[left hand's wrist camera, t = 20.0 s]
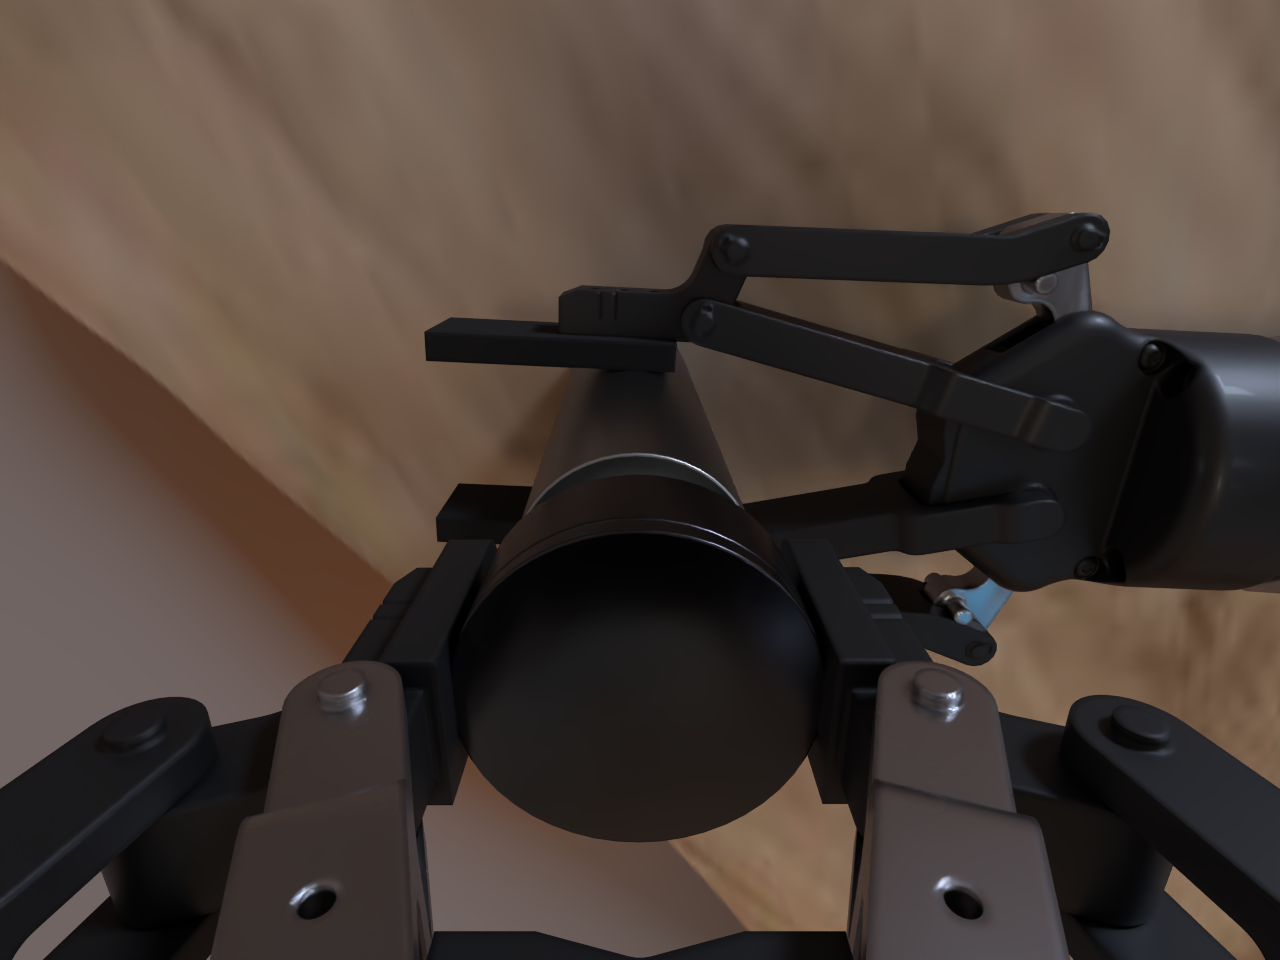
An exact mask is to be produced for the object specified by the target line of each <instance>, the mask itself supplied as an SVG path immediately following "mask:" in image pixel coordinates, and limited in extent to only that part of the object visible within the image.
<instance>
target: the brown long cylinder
mask: <svg viewBox="0 0 1280 960" xmlns="http://www.w3.org/2000/svg"><path fill="white" fill-rule="evenodd" d="M636 474H638V475H656V476H664V477H669V478H675V479H680V480H684V481H687V482H690V483H694V484H697V485H700V486H703V487H705V488H707V489H709V490H712V491H714V492H716V493H718V494H720V495H722V496H724V497H726V498H727V499H729V500H730V501H732V502H734V503H735V504H737V505H738V506H740V507H741V508H742V509H744V507H743V505H742V502H741V500H740V497H739V495H738V492H737V490H736V487H735V485H734V483H733V480H732V478H731V475H730V473H729V470H728V468H727V465H726V463H725V460H724V458H723V456H722V453H721V451H720V448H719V446H718V443H717V441H716V438H715V436H714V433H713V431H712V429H711V426H710V424H709V421H708V419H707V416H706V414H705V411H704V409H703V406H702V404H701V402H700V399H699V397H698V394H697V392H696V389H695V387H694V384H693V382H692V379H691V377H690V374H689V372H688V370H687V367H686V365H685V362H684V360H683V358H682V356H681V355H680V353H679V352H678V350H677V349H676V364H675V373H674V372H653V371H634V370H611V369H589V368H573V370H572V372H571V375H570V378H569V381H568V384H567V387H566V390H565V393H564V396H563V399H562V402H561V405H560V408H559V411H558V414H557V417H556V419H555V422H554V425H553V428H552V431H551V434H550V437H549V440H548V443H547V446H546V449H545V452H544V455H543V458H542V461H541V464H540V467H539V469H538V472H537V475H536V478H535V481H534V484H533V487H532V490H531V493H530V496H529V499H528V502H527V505H526V508H525V511H524V514H523V516H522V518H523V517H524V516H525V515H527V514H528V513H529V512H530V511H531V510H532V509H534V508H535V507H536V506H538V505H539V504H541V503H543V502H544V501H546V500H547V499H549V498H550V497H552V496H554V495H556V494H558V493H560V492H562V491H564V490H566V489H569V488H571V487H573V486H576V485H579V484H582V483H586V482H589V481H592V480H596V479H601V478H607V477H612V476H621V475H636Z"/></svg>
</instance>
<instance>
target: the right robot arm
mask: <svg viewBox="0 0 1280 960" xmlns="http://www.w3.org/2000/svg"><path fill="white" fill-rule="evenodd" d="M1109 234H1110V229H1109V226H1108V223H1107V221H1106V220H1105V219H1104V218H1103V217H1102V216H1101V215H1098V214H1095V213H1037V214H1030V215H1027V216H1024V217H1021V218H1018V219H1015V220H1012V221H1009V222H1006V223H1002V224H999V225H996V226H993V227H990V228H987V229H984V230H981V231H978V232H975V233H972V234H962V233H936V232H911V231H886V230H860V229H835V228H809V227H784V226H758V225H733V224H725V225H719V226H717V227H715V228H714V229H712V230H711V231H710V232H709V233H708V235H707V236H706V238H705V242H704V246H703V249H702V251H701V254H700V256H699V258H698V261H697V263H696V265H695V268H694V270H693V272H692V274H691V276H690V277H689V279H688V280H687V281H686V282H685V283H683V284H682V285H680V286H679V287H676V288H673V289H645V288H625V287H602V286H585V285H582V286H579V287H576V288H573V289H571V290H568V291H565V292H563V293H562V294H561V295H560V297H559V323H555V322H534V321H513V320H493V319H472V318H449V319H447V320H445V321H443V322H442V323H440V324H438V325H436V326H434V327H432V328H430V329H429V330H427V331H425V332H424V334H425V350H426V361H440V362H462V363H483V364H504V365H526V366H547V367H568V368H589V369H611V370H634V371H653V372H674V373H675V364H676V349H677V343H676V341H677V342H692V343H694V344H696V345H698V346H702V347H705V348H709V349H712V350H716V351H719V352H723V353H726V354H730V355H733V356H737V357H740V358H744V359H747V360H751V361H754V362H758V363H761V364H765V365H768V366H771V367H775V368H778V369H782V370H785V371H789V372H792V373H796V374H799V375H803V376H806V377H810V378H813V379H817V380H820V381H824V382H827V383H831V384H834V385H838V386H841V387H845V388H848V389H852V390H855V391H859V392H862V393H866V394H869V395H873V396H876V397H880V398H883V399H887V400H890V401H894V402H897V403H901V404H904V405H908V406H911V407H914V408H917V412H916V421H917V434H918V440H917V443H916V445H915V447H914V449H913V451H912V453H911V455H910V458H909V460H908V462H907V464H906V469H905V470H904V471H898V472H892V473H887V474H881V475H877V476H874V477H872V478H871V479H870V480H869V482H867V483H864V484H859V485H853V486H847V487H841V488H835V489H829V490H823V491H818V492H812V493H806V494H800V495H794V496H788V497H782V498H776V499H770V500H764V501H758V502H752V503H746V504H742V505H743V507H744V510H745V511H746V512H747V513H748V514H749V515H751V516H752V517H753V518H754V519H755V520H756V521H757V522H758V523H759V524H760V525H761V526H762V527H763V528H764V529H765V530H766V532H767V533H768V534H769V535H770V536H771V538H772V539H773V541H774V542H775V544H776V545H777V547H778V548H779V550H780V545H781V542H782V540H783V539H826V540H828V542H829V543H830V545H831V547H832V548H833V550H834V552H835V554H836V555H837V557H838V559H845V558H851V557H857V556H864V555H870V554H876V553H882V552H888V551H899V552H902V553H905V554H908V555H924V554H931V553H937V552H943V551H949V550H956V551H957V552H958V553H959V554H961V555H962V556H963V557H964V558H965V559H967V560H968V561H969V562H970V563H972V564H973V565H974V567H973V568H972V569H971V570H970V571H969V572H967V573H965V574H963V575H959V576H951V575H940V574H938V573H931V574H929V575H927V577H926V578H925V580H924V582H921V581H918V580H915V579H912V578H907V577H903V576H897V575H887V574H870V575H871V576H873V577H874V578H875V579H877V580H878V581H880V582H881V583H882V584H883V586H884V587H885V589H886V590H887V592H888V594H889V595H890V597H891V598H892V600H893V604H896V606H897V607H898V609H899V610H900V612H901V613H902V615H903V616H902V617H903V619H905V620H906V621H907V623H908V624H909V626H910V627H911V629H912V630H913V632H914V633H915V635H916V636H917V638H918V639H919V641H920V643H921V644H922V646H923V647H924V648H925V649H927V650H930V651H932V652H935V653H938V654H940V655H943V656H945V657H948V658H950V659H953V660H956V661H958V662H961V663H963V664H966V665H970V666H978V665H982V664H984V663H986V662H988V661H989V660H990V659H991V658H992V657H993V656H994V655H995V652H996V650H997V644H996V642H995V640H994V638H993V637H992V636H991V635H990V633H989V632H988V631H987V628H988V627H989V625H990V624H991V623H992V621H993V620H994V618H995V617H996V616H997V614H998V613H999V611H1000V610H1001V608H1002V607H1003V606H1004V604H1005V603H1006V601H1007V600H1008V599H1009V597H1010V596H1011V594H1012V593H1013V592H1014V591H1016V592H1027V591H1033V590H1037V589H1039V588H1042V587H1044V586H1047V585H1049V584H1052V583H1055V582H1059V581H1063V580H1069V579H1078V580H1085V581H1091V582H1097V583H1102V584H1109V585H1116V586H1126V587H1149V588H1174V589H1198V590H1238V589H1242V590H1245V591H1254V592H1267V593H1280V336H1276V337H1271V338H1267V337H1263V336H1259V335H1251V334H1237V333H1216V332H1195V331H1175V330H1154V329H1133V328H1126V327H1124V326H1122V325H1120V324H1119V323H1118V322H1116V321H1115V320H1114V319H1113V318H1111V317H1110V316H1108V315H1106V314H1104V313H1101V312H1097V311H1092V301H1091V290H1090V279H1089V268H1088V262H1090V261H1092V260H1093V259H1095V258H1097V257H1098V256H1099V255H1100V254H1101V253H1102V252H1103V251H1104V249H1105V247H1106V245H1107V243H1108V241H1109ZM747 276H748V277H774V278H801V279H827V280H853V281H879V282H905V283H932V284H958V285H993V287H994V291H995V292H996V293H997V295H998V296H1000V297H1001V298H1002V299H1006V300H1010V301H1014V302H1019V303H1023V304H1032V305H1033V307H1034V308H1035V310H1036V314H1037V315H1036V316H1034V317H1033V318H1031V319H1029V320H1027V321H1026V322H1024V323H1022V324H1021V325H1019V326H1017V327H1016V328H1014V329H1012V330H1011V331H1009V332H1007V333H1005V334H1004V335H1002V336H1000V337H999V338H997V339H995V340H994V341H992V342H990V343H988V344H987V345H985V346H983V347H982V348H980V349H978V350H977V351H975V352H973V353H972V354H970V355H968V356H966V357H965V358H963V359H961V360H960V361H958V362H956V363H951V362H948V361H945V360H941V359H938V358H934V357H931V356H928V355H924V354H921V353H918V352H914V351H911V350H907V349H901V348H897V347H893V346H890V345H886V344H883V343H880V342H876V341H873V340H869V339H866V338H863V337H859V336H856V335H852V334H849V333H846V332H842V331H839V330H836V329H832V328H829V327H825V326H822V325H819V324H815V323H812V322H808V321H805V320H802V319H798V318H795V317H791V316H788V315H785V314H781V313H778V312H775V311H771V310H768V309H764V308H761V307H758V306H754V305H751V304H747V303H744V302H741V301H737V300H736V299H737V297H738V295H739V292H740V290H741V288H742V286H743V284H744V281H745V279H746V277H747ZM531 490H532V487H530V486H506V485H483V484H458V485H457V487H456V488H455V490H454V491H453V493H452V494H451V496H450V497H449V499H448V500H447V502H446V503H445V505H444V506H443V508H442V509H441V511H440V512H439V514H438V515H437V517H436V527H437V542H448V541H449V540H494V542H495V544H501V543H502V541H503V539H504V538H505V536H506V535H507V534H508V533H509V532H510V531H511V530H512V528H513V527H514V526H515V525H516V524H517V523H518V522H519V521H520V520H521V519H522V516H523V514H524V511H525V508H526V505H527V502H528V499H529V496H530V493H531Z"/></svg>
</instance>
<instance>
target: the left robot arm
mask: <svg viewBox="0 0 1280 960" xmlns="http://www.w3.org/2000/svg"><path fill="white" fill-rule="evenodd" d="M496 550H497V548H496V544H495V542H494V540H449V541H448V542H447V544H446V546H445V547H444V549H443V551H442V553H441V554H440V556H439V558H438V559H437V561H436V563H435V564H434V566H433V568H416V569H415V570H413V571H412V572H410V573H409V574H407V575H406V576H404V577H403V578H401V579H400V580H399V581H397V582H396V583H394V585H393V586H392V588H391V589H390V591H389V592H388V594H387V595H386V597H385V598H384V600H383V605H380V606H379V608H378V609H377V611H376V612H375V614H374V615H373V620H370V621H369V623H368V624H367V626H366V627H365V629H364V630H363V632H362V633H361V635H360V636H359V638H358V639H357V641H356V642H355V644H354V645H353V647H352V648H351V650H350V651H349V653H348V654H347V656H346V657H345V659H344V660H343V662H342V663H341V664H337V665H334V666H330V667H327V668H325V669H323V670H320V671H318V672H316V673H314V674H312V675H310V676H308V677H307V678H305V679H304V680H303V681H301V682H300V683H299V684H297V685H296V686H295V687H294V688H293V689H292V690H291V691H290V693H289V694H288V695H287V697H286V699H285V701H284V704H283V707H282V711H279V712H277V713H273V714H270V715H266V716H262V717H258V718H253V719H248V720H243V721H238V722H234V723H229V724H224V725H220V726H214V727H212V726H211V722H210V719H209V715H208V712H207V709H206V707H205V706H204V705H203V704H202V703H200V702H199V701H197V700H194V699H191V698H185V697H166V698H158V699H153V700H148V701H145V702H141V703H137V704H134V705H131V706H129V707H126V708H123V709H121V710H119V711H117V712H114V713H112V714H110V715H108V716H106V717H105V718H103V719H101V720H99V721H98V722H96V723H95V724H93V725H91V726H90V727H88V728H87V729H86V730H84V731H83V732H81V733H80V734H78V735H77V736H76V737H74V738H73V739H71V740H70V741H68V742H67V743H65V744H64V745H63V746H61V747H60V748H58V749H57V750H55V751H54V752H53V753H51V754H50V755H48V756H47V757H45V758H44V759H43V760H41V761H40V762H38V763H37V764H35V765H34V766H33V767H31V768H30V769H28V770H27V771H25V772H24V773H22V774H21V775H20V776H18V777H17V778H15V779H14V780H12V781H11V782H10V783H8V784H7V785H5V786H4V787H2V788H1V789H0V960H12V959H13V957H14V956H15V954H16V952H17V951H18V949H19V948H20V947H21V945H22V944H23V943H24V942H25V940H26V939H27V938H28V937H29V936H30V935H31V934H32V933H33V932H34V931H35V930H36V929H37V928H38V927H39V926H41V925H42V924H43V923H44V922H45V921H46V920H47V919H48V918H49V917H51V916H52V915H53V914H54V913H55V912H56V911H57V910H58V909H59V908H60V907H62V906H63V905H64V904H65V903H66V902H67V901H68V900H69V899H70V898H71V897H73V896H74V895H75V894H76V893H77V892H78V891H79V890H80V889H81V888H82V887H84V886H85V885H86V884H87V883H88V882H89V881H90V880H91V879H92V878H93V877H95V876H96V875H97V874H98V873H99V872H100V871H101V872H102V874H103V877H104V880H105V882H106V885H107V888H108V890H109V893H110V896H109V897H108V898H107V899H106V900H105V901H104V902H103V903H102V904H101V905H100V906H99V907H98V908H97V909H96V910H95V911H94V912H93V913H91V914H90V915H89V916H88V917H87V918H86V919H85V920H84V921H83V922H82V923H81V924H80V925H79V926H78V927H77V928H76V929H75V930H74V931H73V932H72V933H70V934H69V935H68V936H67V937H66V938H65V939H64V940H63V941H62V942H61V943H60V944H59V945H58V946H57V947H56V948H55V949H54V950H53V951H52V952H51V953H49V954H48V955H47V956H46V957H45V958H44V959H43V960H206V959H207V958H208V957H209V956H210V955H211V957H210V960H1070V957H1069V955H1070V956H1071V957H1072V958H1073V959H1074V960H1237V959H1236V958H1235V957H1234V956H1233V955H1232V954H1230V953H1229V952H1228V951H1227V950H1226V949H1225V948H1224V947H1223V946H1222V945H1221V944H1220V943H1219V942H1218V941H1217V940H1216V939H1215V938H1214V937H1213V936H1212V935H1211V934H1210V933H1208V932H1207V931H1206V930H1205V929H1204V928H1203V927H1202V926H1201V925H1200V924H1199V923H1198V922H1197V921H1196V920H1195V919H1194V918H1193V917H1192V916H1191V915H1190V914H1189V913H1187V912H1186V911H1185V910H1184V909H1183V908H1182V907H1181V906H1180V905H1179V904H1178V903H1177V902H1176V901H1175V900H1174V899H1173V898H1172V897H1171V896H1170V895H1169V894H1168V893H1166V892H1165V891H1164V889H1165V886H1166V883H1167V880H1168V878H1169V875H1170V872H1171V870H1172V867H1173V866H1174V867H1175V868H1177V869H1178V870H1179V871H1180V872H1181V873H1182V874H1183V875H1184V876H1185V877H1186V878H1188V879H1189V880H1190V881H1191V882H1192V883H1193V884H1194V885H1195V886H1196V887H1197V888H1199V889H1200V890H1201V891H1202V892H1203V893H1204V894H1205V895H1206V896H1207V897H1208V898H1210V899H1211V900H1212V901H1213V902H1214V903H1215V904H1216V905H1217V906H1218V907H1220V908H1221V909H1222V910H1223V911H1224V912H1225V913H1226V914H1227V915H1228V916H1229V917H1231V918H1232V919H1233V920H1234V921H1235V922H1236V923H1237V924H1238V925H1239V926H1240V927H1241V928H1242V929H1244V930H1245V931H1246V932H1247V933H1248V935H1249V936H1250V937H1251V938H1252V939H1253V941H1254V942H1255V943H1256V945H1257V946H1258V948H1259V949H1260V951H1261V952H1262V954H1263V956H1264V958H1265V960H1280V789H1279V788H1278V787H1276V786H1275V785H1273V784H1272V783H1270V782H1269V781H1268V780H1266V779H1265V778H1263V777H1262V776H1260V775H1259V774H1258V773H1256V772H1255V771H1253V770H1252V769H1250V768H1249V767H1248V766H1246V765H1245V764H1243V763H1242V762H1240V761H1239V760H1237V759H1236V758H1235V757H1233V756H1232V755H1230V754H1229V753H1227V752H1226V751H1225V750H1223V749H1222V748H1220V747H1219V746H1217V745H1216V744H1215V743H1213V742H1212V741H1210V740H1209V739H1207V738H1206V737H1204V736H1203V735H1202V734H1200V733H1199V732H1197V731H1196V730H1194V729H1193V728H1192V727H1190V726H1189V725H1187V724H1186V723H1184V722H1183V721H1181V720H1179V719H1178V718H1176V717H1175V716H1173V715H1171V714H1169V713H1167V712H1165V711H1163V710H1161V709H1158V708H1156V707H1154V706H1151V705H1149V704H1146V703H1143V702H1140V701H1136V700H1133V699H1129V698H1124V697H1119V696H1111V695H1093V696H1087V697H1083V698H1081V699H1079V700H1077V701H1075V703H1074V704H1073V705H1072V706H1071V708H1070V711H1069V714H1068V718H1067V722H1066V725H1065V726H1061V725H1056V724H1051V723H1046V722H1041V721H1037V720H1032V719H1027V718H1022V717H1017V716H1013V715H1009V714H1005V713H1001V712H998V707H997V704H996V701H995V699H994V697H993V695H992V694H991V693H990V691H989V690H988V689H987V688H986V687H985V686H984V685H983V684H981V683H980V682H979V681H977V680H976V679H975V678H973V677H972V676H970V675H968V674H966V673H964V672H962V671H960V670H958V669H955V668H953V667H950V666H946V665H943V664H939V663H935V662H933V661H932V659H931V658H930V656H929V655H928V653H927V652H926V650H925V649H924V647H923V646H922V644H921V643H920V641H919V639H918V638H917V636H916V635H915V633H914V632H913V630H912V629H911V627H910V626H909V624H908V623H907V621H906V620H905V619H903V617H902V616H903V615H902V613H901V612H900V610H899V609H898V607H897V606H896V604H893V600H892V598H891V597H890V595H889V594H888V592H887V590H886V589H885V587H884V586H883V584H882V583H881V582H880V581H878V580H877V579H875V578H874V577H873V576H871V575H870V574H868V573H867V572H865V571H864V570H862V569H861V568H859V567H843V566H842V564H841V562H840V561H839V559H838V557H837V555H836V554H835V552H834V550H833V548H832V547H831V545H830V543H829V542H828V540H826V539H783V540H782V542H781V545H780V551H781V554H782V556H783V558H784V560H785V562H786V564H787V566H788V568H789V571H790V573H791V575H792V578H793V580H794V582H795V585H796V587H797V589H798V592H799V594H800V597H801V599H802V601H803V604H804V606H805V608H806V611H807V613H808V615H809V618H810V620H811V623H812V625H813V627H814V630H815V632H816V634H817V637H818V640H819V643H820V646H821V650H822V653H823V656H824V662H825V672H824V683H823V691H822V700H821V709H820V718H819V726H818V733H817V736H816V739H815V741H814V743H813V745H812V747H811V749H810V750H809V752H808V754H807V755H808V758H809V762H810V765H811V768H812V771H813V775H814V778H815V781H816V784H817V788H818V791H819V794H820V797H821V801H822V804H848V805H849V808H850V811H851V814H852V817H853V819H854V822H855V825H856V834H855V841H854V850H853V862H852V874H851V886H850V897H849V909H848V921H847V933H846V931H744V932H740V933H737V934H733V935H729V936H725V937H722V938H718V939H714V940H711V941H707V942H703V943H700V944H696V945H692V946H689V947H685V948H681V949H677V950H673V951H670V952H666V953H662V954H659V955H655V956H651V957H645V958H634V957H629V956H625V955H621V954H618V953H614V952H610V951H607V950H603V949H599V948H595V947H592V946H588V945H584V944H580V943H577V942H573V941H569V940H565V939H562V938H558V937H554V936H551V935H547V934H543V933H540V932H536V931H435V932H434V933H433V921H432V909H431V897H430V886H429V874H428V862H427V850H426V841H425V834H424V827H423V820H422V817H423V815H424V812H425V809H426V806H427V805H453V803H454V799H455V796H456V793H457V790H458V787H459V784H460V780H461V777H462V774H463V771H464V768H465V765H466V761H467V758H468V753H467V751H466V749H465V747H464V745H463V744H462V742H461V739H460V737H459V734H458V729H457V722H456V713H455V704H454V696H453V687H452V678H451V659H452V656H453V652H454V648H455V645H456V641H457V638H458V636H459V634H460V631H461V629H462V627H463V625H464V622H465V620H466V617H467V615H468V613H469V611H470V608H471V606H472V604H473V601H474V599H475V597H476V594H477V592H478V590H479V587H480V585H481V583H482V580H483V578H484V576H485V573H486V571H487V569H488V567H489V564H490V562H491V560H492V558H493V556H494V554H495V552H496Z"/></svg>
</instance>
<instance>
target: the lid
mask: <svg viewBox="0 0 1280 960" xmlns="http://www.w3.org/2000/svg"><path fill="white" fill-rule="evenodd" d="M824 672H825V662H824V656H823V653H822V650H821V646H820V643H819V640H818V637H817V634H816V632H815V630H814V627H813V625H812V623H811V620H810V618H809V615H808V613H807V611H806V608H805V606H804V604H803V601H802V599H801V597H800V594H799V592H798V589H797V587H796V585H795V582H794V580H793V578H792V575H791V573H790V571H789V568H788V566H787V564H786V562H785V560H784V558H783V556H782V554H781V551H780V550H779V548H778V547H777V545H776V544H775V542H774V541H773V539H772V538H771V536H770V535H769V534H768V533H767V532H766V530H765V529H764V528H763V527H762V526H761V525H760V524H759V523H758V522H757V521H756V520H755V519H754V518H753V517H752V516H751V515H749V514H748V513H747V512H746V511H745V510H744V509H742V508H741V507H740V506H738V505H737V504H735V503H734V502H732V501H730V500H729V499H727V498H726V497H724V496H722V495H720V494H718V493H716V492H714V491H712V490H709V489H707V488H705V487H703V486H700V485H697V484H694V483H690V482H687V481H684V480H680V479H675V478H669V477H664V476H656V475H638V474H636V475H621V476H612V477H607V478H601V479H596V480H592V481H589V482H586V483H582V484H579V485H576V486H573V487H571V488H569V489H566V490H564V491H562V492H560V493H558V494H556V495H554V496H552V497H550V498H549V499H547V500H546V501H544V502H543V503H541V504H539V505H538V506H536V507H535V508H534V509H532V510H531V511H530V512H529V513H528V514H527V515H525V516H524V517H523V518H522V519H521V520H520V521H519V522H518V523H517V524H516V525H515V526H514V527H513V528H512V530H511V531H510V532H509V533H508V534H507V535H506V536H505V538H504V539H503V541H502V543H501V544H500V546H499V547H498V549H497V550H496V552H495V554H494V556H493V558H492V560H491V562H490V564H489V567H488V569H487V571H486V573H485V576H484V578H483V580H482V583H481V585H480V587H479V590H478V592H477V594H476V597H475V599H474V601H473V604H472V606H471V608H470V611H469V613H468V615H467V617H466V620H465V622H464V625H463V627H462V629H461V631H460V634H459V636H458V638H457V641H456V645H455V648H454V652H453V656H452V659H451V678H452V687H453V696H454V704H455V713H456V722H457V729H458V734H459V737H460V739H461V742H462V744H463V745H464V747H465V749H466V751H467V753H468V755H469V756H470V758H471V760H472V761H473V763H474V764H475V765H476V767H477V768H478V769H479V771H480V772H481V773H482V775H483V776H484V777H485V778H486V779H487V780H488V781H489V782H490V783H491V784H492V785H493V786H494V787H495V789H496V790H497V791H499V792H500V793H501V794H502V795H503V796H505V797H506V798H507V799H508V800H510V801H511V802H512V803H513V804H515V805H516V806H518V807H519V808H521V809H523V810H524V811H526V812H527V813H529V814H530V815H532V816H534V817H536V818H538V819H540V820H542V821H544V822H546V823H548V824H550V825H553V826H555V827H558V828H561V829H564V830H566V831H570V832H572V833H576V834H580V835H584V836H588V837H592V838H597V839H604V840H611V841H620V842H655V841H666V840H672V839H679V838H684V837H688V836H692V835H696V834H700V833H704V832H707V831H709V830H712V829H715V828H718V827H720V826H723V825H726V824H728V823H730V822H732V821H734V820H736V819H738V818H740V817H742V816H744V815H745V814H747V813H749V812H750V811H752V810H753V809H755V808H756V807H758V806H759V805H761V804H762V803H764V802H765V801H766V800H767V799H769V798H770V797H771V796H772V795H773V794H775V793H776V792H777V791H778V790H779V789H780V788H781V787H782V786H783V785H784V784H785V783H786V782H787V781H788V780H789V779H790V778H791V777H792V776H793V775H794V773H795V772H796V770H797V769H798V768H799V766H800V765H801V764H802V762H803V761H804V759H805V758H806V756H807V754H808V752H809V750H810V749H811V747H812V745H813V743H814V741H815V739H816V736H817V733H818V726H819V718H820V709H821V700H822V691H823V683H824Z"/></svg>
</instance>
